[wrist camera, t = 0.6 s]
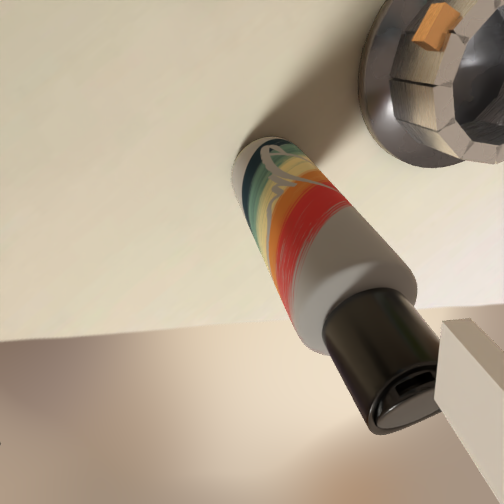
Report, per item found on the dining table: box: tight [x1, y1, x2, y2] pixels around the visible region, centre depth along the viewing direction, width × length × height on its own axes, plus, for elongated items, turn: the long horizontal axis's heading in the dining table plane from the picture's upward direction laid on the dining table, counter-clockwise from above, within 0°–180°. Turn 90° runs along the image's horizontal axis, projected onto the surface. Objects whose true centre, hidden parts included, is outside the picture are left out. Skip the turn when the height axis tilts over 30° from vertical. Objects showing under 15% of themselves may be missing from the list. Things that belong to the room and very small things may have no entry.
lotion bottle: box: [231, 137, 442, 435], centre depth 21 cm, size 6×6×20 cm
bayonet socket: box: [358, 0, 504, 168], centre depth 26 cm, size 14×14×6 cm
